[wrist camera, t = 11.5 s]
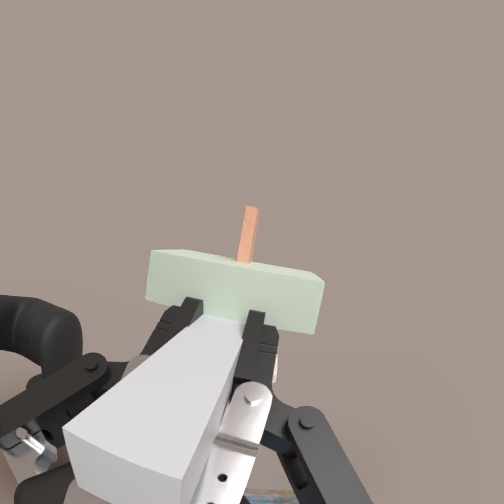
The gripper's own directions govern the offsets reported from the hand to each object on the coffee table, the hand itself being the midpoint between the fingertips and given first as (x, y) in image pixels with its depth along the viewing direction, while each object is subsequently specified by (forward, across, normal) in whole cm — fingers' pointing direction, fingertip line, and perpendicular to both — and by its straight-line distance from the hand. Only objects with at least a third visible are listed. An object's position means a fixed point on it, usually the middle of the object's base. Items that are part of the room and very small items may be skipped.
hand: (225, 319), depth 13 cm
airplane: (-3, 0, 0) cm, 3 cm away
